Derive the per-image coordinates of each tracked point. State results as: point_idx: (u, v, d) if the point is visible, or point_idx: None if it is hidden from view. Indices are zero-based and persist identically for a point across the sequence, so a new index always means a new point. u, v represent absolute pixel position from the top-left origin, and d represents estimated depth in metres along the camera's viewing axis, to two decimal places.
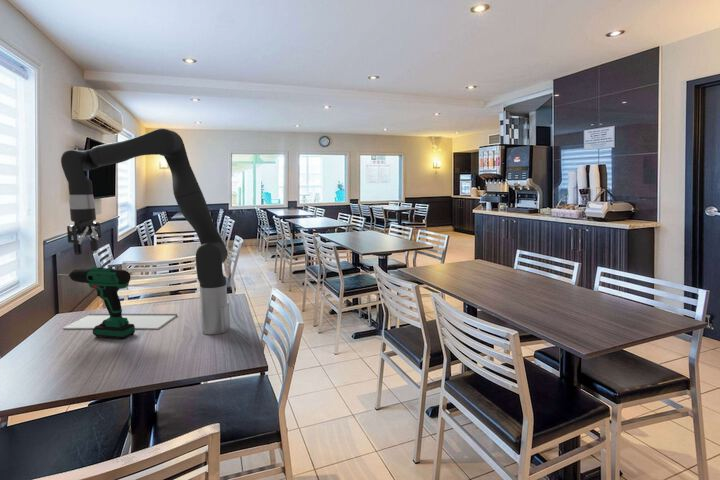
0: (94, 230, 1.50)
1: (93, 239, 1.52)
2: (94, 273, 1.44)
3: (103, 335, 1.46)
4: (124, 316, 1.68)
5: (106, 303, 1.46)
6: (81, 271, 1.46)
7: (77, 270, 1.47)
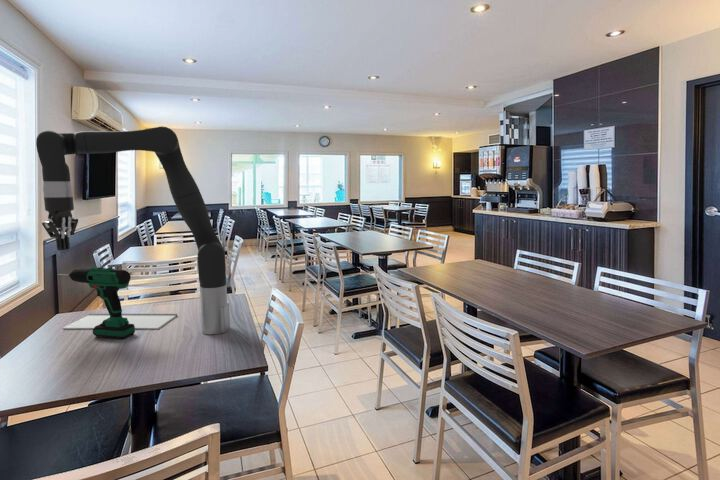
0: (70, 224, 1.34)
1: (64, 236, 1.34)
2: (94, 273, 1.44)
3: (103, 335, 1.46)
4: (124, 316, 1.68)
5: (106, 303, 1.46)
6: (81, 271, 1.46)
7: (77, 270, 1.47)
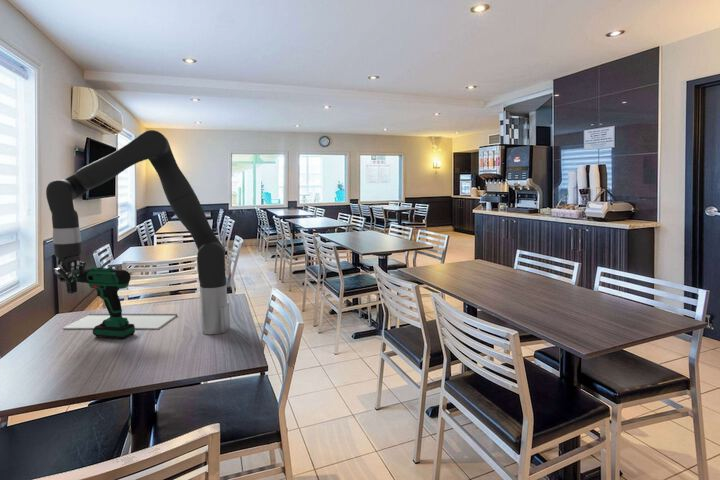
0: (78, 268, 1.38)
1: None
2: (94, 273, 1.44)
3: (103, 335, 1.46)
4: (124, 316, 1.68)
5: (106, 303, 1.46)
6: None
7: None
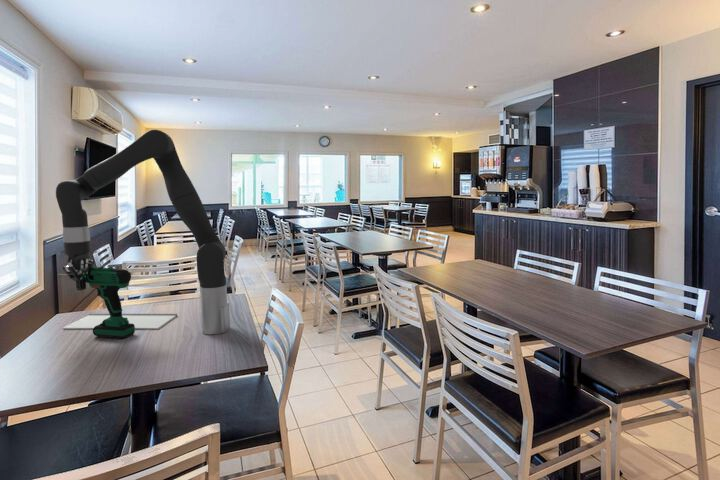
0: (87, 265, 1.42)
1: None
2: (95, 273, 1.45)
3: (103, 335, 1.46)
4: (124, 316, 1.68)
5: (106, 303, 1.46)
6: None
7: None
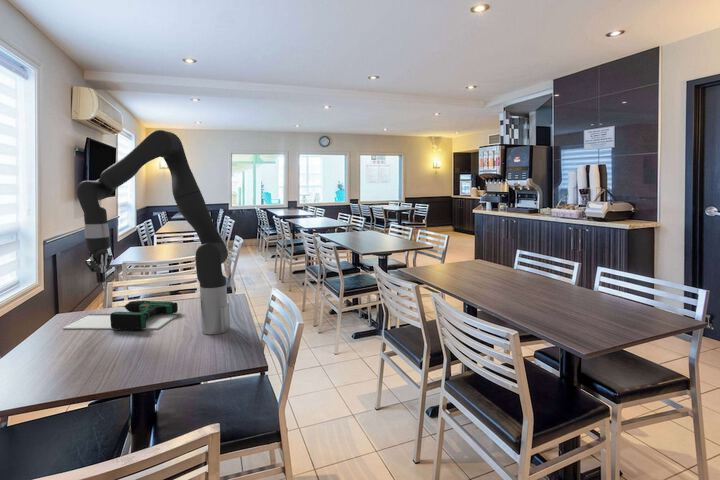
0: (106, 260, 1.53)
1: None
2: None
3: (120, 313, 1.53)
4: None
5: (143, 310, 1.64)
6: None
7: None
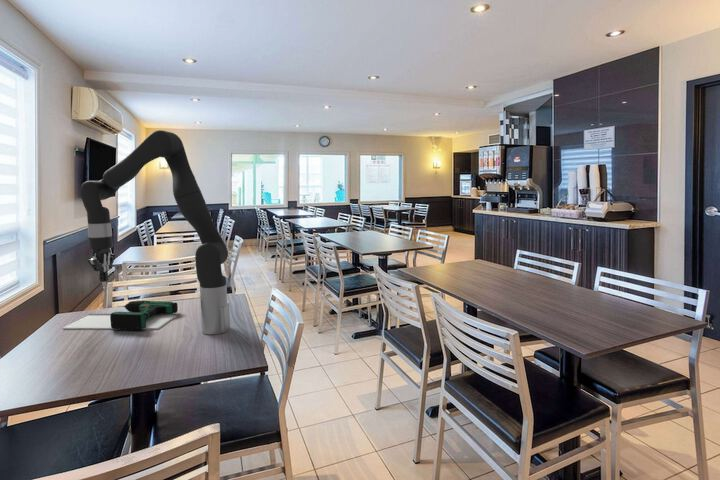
0: (109, 259, 1.55)
1: None
2: None
3: (120, 313, 1.53)
4: None
5: (143, 310, 1.64)
6: None
7: None
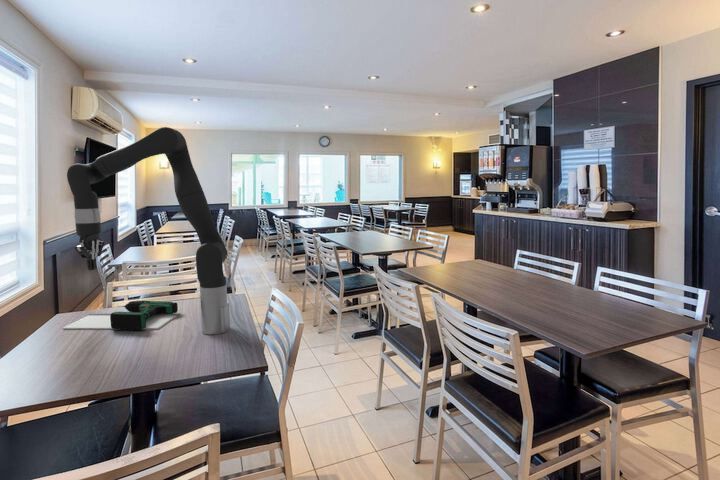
0: (98, 246, 1.48)
1: None
2: None
3: (120, 313, 1.53)
4: None
5: (143, 310, 1.64)
6: None
7: None
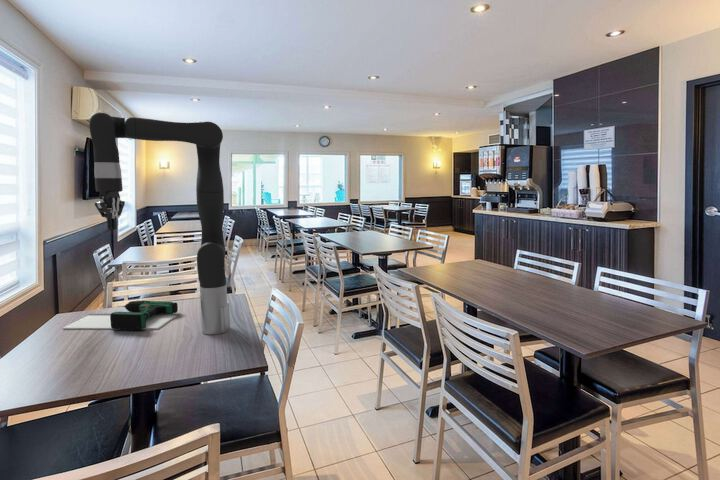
0: (118, 205, 1.37)
1: None
2: None
3: (120, 313, 1.53)
4: None
5: (143, 310, 1.64)
6: None
7: None
